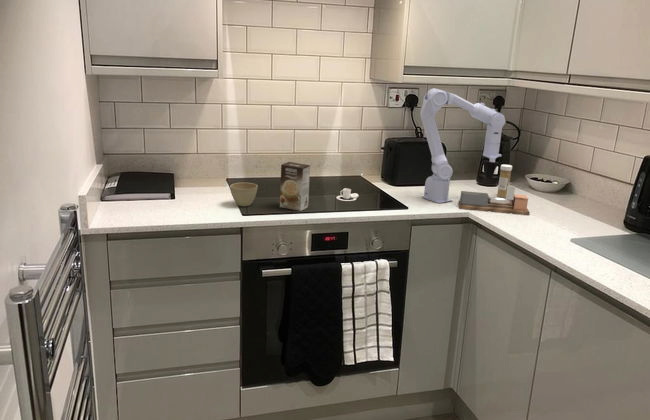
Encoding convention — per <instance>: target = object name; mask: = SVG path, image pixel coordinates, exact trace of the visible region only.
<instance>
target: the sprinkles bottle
mask: <svg viewBox="0 0 650 420" xmlns="http://www.w3.org/2000/svg"><path fill="white" fill-rule="evenodd" d="M499 170H500V174H499V177H498V179H499V180H498V184H497V194H496V197H499V198H506V194H507V187H508V186H511V185H510V183H511V175H512V174H511V173H512V170H513V165H511V164H501V165H500V169H499Z"/></svg>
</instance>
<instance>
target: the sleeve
mask: <svg viewBox="0 0 650 420" xmlns="http://www.w3.org/2000/svg"><path fill="white" fill-rule="evenodd" d="M488 197H490V195H489V193H488V192H478V191H468V190H467V191H466V190H465V191H464V190H461V191H460V197H459V201H460V205H469V206H480V207H487V205H488Z"/></svg>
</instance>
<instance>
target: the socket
mask: <svg viewBox="0 0 650 420" xmlns="http://www.w3.org/2000/svg"><path fill="white" fill-rule="evenodd" d="M513 199H515V203H514V206H512V207H513V209H514V210H521V211H526V209H528V203H529V198H528V196H527V195H525V194H515V193H514V198H513Z"/></svg>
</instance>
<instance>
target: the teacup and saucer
mask: <svg viewBox="0 0 650 420" xmlns="http://www.w3.org/2000/svg"><path fill="white" fill-rule="evenodd" d="M339 192H340V195H338V196H336V197H335V198H336V199H337V200H339V201H344V202H353V201H356V200H357V198H359V194H358V193H356V192H355V193H351V192H352V189H351V188H346V187H345V188H343V189H342V190H340V191H339ZM341 197H342V198H343V199H341ZM349 199H350V200H349Z"/></svg>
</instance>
